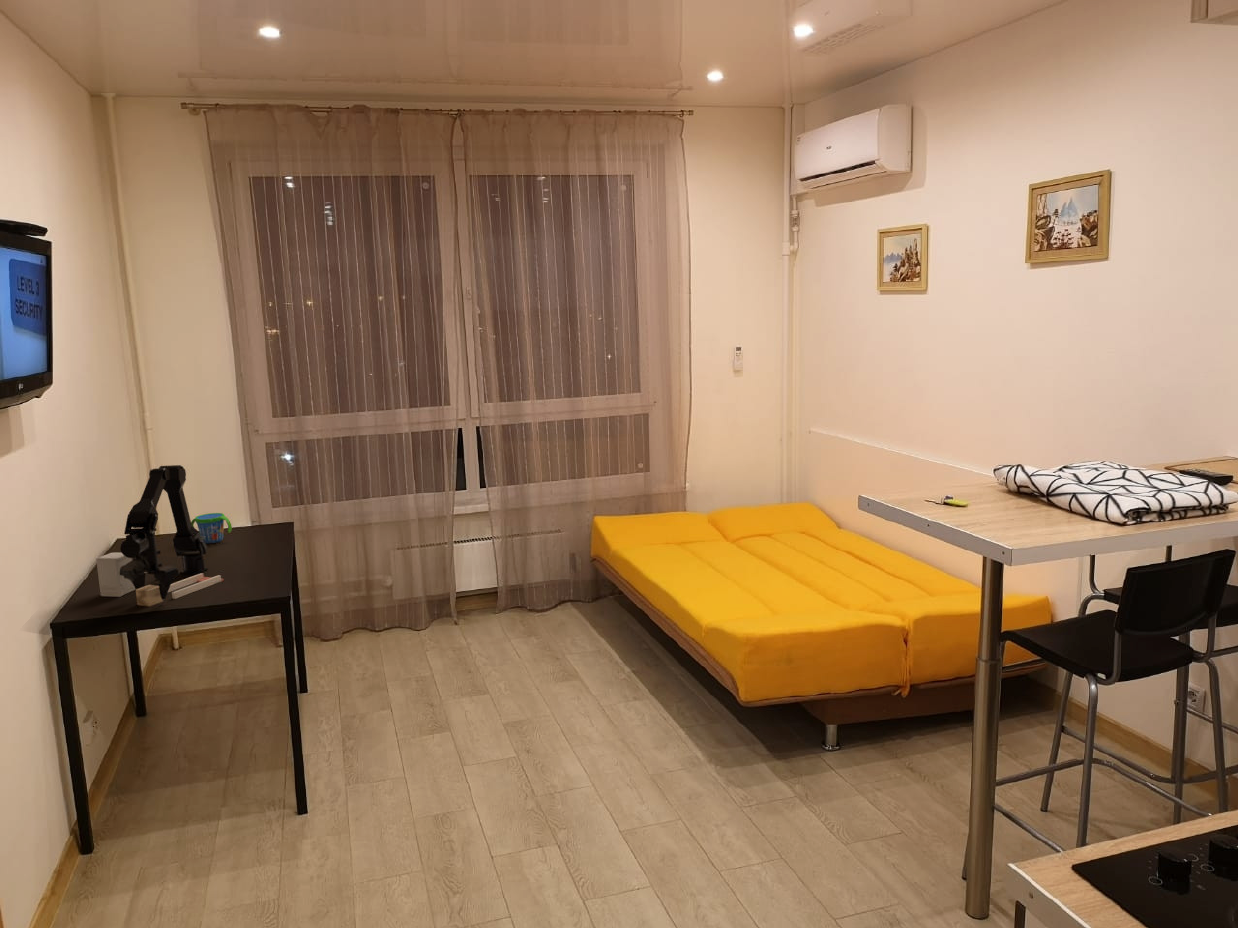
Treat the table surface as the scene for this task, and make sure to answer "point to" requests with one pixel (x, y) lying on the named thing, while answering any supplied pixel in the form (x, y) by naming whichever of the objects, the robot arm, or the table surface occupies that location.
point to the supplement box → (113, 575)
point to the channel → (197, 578)
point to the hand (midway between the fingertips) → (152, 597)
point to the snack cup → (211, 526)
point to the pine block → (148, 595)
